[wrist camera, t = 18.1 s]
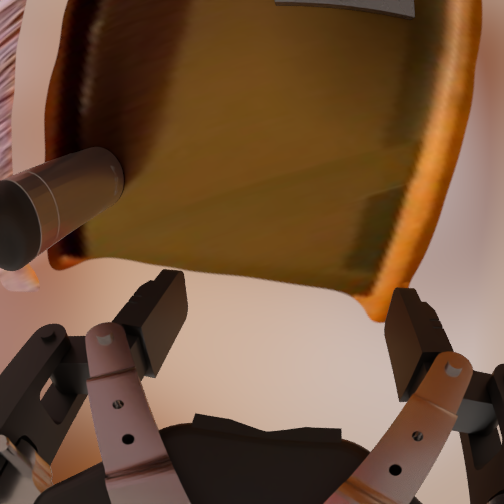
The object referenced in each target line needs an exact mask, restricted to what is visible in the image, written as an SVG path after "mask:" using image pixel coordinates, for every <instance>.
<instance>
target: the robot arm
mask: <svg viewBox="0 0 504 504" xmlns="http://www.w3.org/2000/svg"><path fill="white" fill-rule="evenodd" d="M123 185H124V176H123V171H122V168H121V165H120V163H119V161H118V160H117V158H116V157H115V156H114V155H113V154H112V153H111V152H110V151H108V150H107V149H104V148H102V147H91V148H88V149H84V150H81V151H78V152H75V153H72V154H69V155H66V156H63V157H60V158H57V159H54V160H51V161H49V162H46V163H43V164H41V165H38V166H35V167H33V168H30V169H28V170H25V171H23V172H20V173H18V174H15V175H13V176H11V177H8V178H6V179H3V180H1V181H0V268H2V269H4V270H8V271H16V270H19V269H21V268H22V267H24V266H25V265H27V264H28V263H29V262H31V261H32V260H33V259H35V258H36V257H37V256H39V255H40V254H41V253H43V252H44V251H45V250H47V249H48V248H49V247H51V246H52V245H54V244H55V243H56V242H58V241H59V240H61V239H62V238H63V237H65V236H66V235H68V234H69V233H71V232H72V231H74V230H75V229H76V228H78V227H79V226H81V225H82V224H84V223H85V222H87V221H88V220H90V219H91V218H93V217H95V216H96V215H98V214H99V213H101V212H102V211H104V210H106V209H107V208H109V207H110V206H112V205H113V204H114V203H116V202H117V201H118V199H119V197H120V196H121V193H122V191H123ZM187 312H188V302H187V294H186V287H185V279H184V273H183V272H182V271H177V270H167V269H163V270H162V271H161V272H160V274H159V275H158V276H157V278H156V279H155V280H154V281H152V280H150V281H149V282H147V283H145V284H143V285H142V286H140V287H139V288H138V290H137V291H136V292H135V293H134V296H132V297H131V298H130V299H129V302H127V303H126V305H125V306H124V307H123V308H122V309H121V311H120V312H119V313H118V315H117V316H116V317H115V318H114V320H113V321H112V322H108V323H101V324H98V325H96V326H94V327H93V328H91V329H90V330H89V331H88V332H87V334H86V336H68V335H67V333H66V330H65V328H64V327H63V326H61V325H59V324H48V325H45V326H43V327H41V328H39V329H38V330H37V331H36V332H35V333H34V334H33V335H32V336H31V338H30V339H29V340H28V341H27V342H26V344H25V345H24V346H23V347H22V348H21V350H20V351H19V352H18V353H17V354H16V356H15V357H14V358H13V359H12V361H11V362H10V363H9V364H8V366H7V367H6V368H5V370H4V371H3V372H2V373H1V375H0V504H422V503H421V502H420V501H419V500H418V499H417V498H416V497H415V494H416V493H417V491H418V490H419V488H420V486H421V485H422V483H423V482H424V480H425V478H426V476H427V475H428V473H429V472H430V470H431V468H432V466H433V464H434V463H435V461H436V459H437V457H438V456H439V454H440V452H441V450H442V448H443V446H444V444H445V442H446V440H447V438H448V436H449V434H450V432H451V430H453V431H458V432H459V433H460V438H461V443H462V449H463V454H464V460H465V466H466V472H467V479H468V487H469V495H470V504H504V364H500V365H498V366H497V367H496V368H495V370H494V371H493V373H492V374H487V373H482V372H477V371H474V370H473V367H472V365H471V363H470V362H469V360H468V359H467V358H466V357H464V356H463V355H461V354H459V353H456V352H454V351H453V349H452V346H451V344H450V342H449V340H448V337H447V335H446V333H445V331H444V329H443V328H442V324H441V322H440V321H439V318H438V316H437V314H436V312H435V310H434V309H433V308H432V307H431V306H430V305H429V304H428V303H427V302H421V300H420V298H419V296H418V294H417V292H416V290H415V289H414V288H395V290H394V292H393V295H392V299H391V303H390V307H389V310H388V314H387V318H386V321H385V329H384V332H385V339H386V343H387V347H388V352H389V356H390V360H391V365H392V369H393V374H394V378H395V383H396V387H397V393H398V398H399V402H407V403H406V405H405V406H404V408H403V409H402V411H401V412H400V414H399V415H398V416H397V418H396V419H395V421H394V422H393V424H392V425H391V426H390V428H389V429H388V430H387V432H386V433H385V434H384V436H383V437H382V438H381V440H380V441H379V442H378V444H377V445H376V446H375V447H374V449H373V450H372V451H371V452H369V451H368V450H367V449H365V448H364V447H362V446H360V445H358V444H356V443H353V442H350V441H348V440H344V439H342V438H341V429H335V428H311V427H304V428H296V429H289V430H281V431H271V432H266V431H262V430H259V429H256V428H253V427H250V426H247V425H245V424H242V423H239V422H236V421H233V420H231V419H225V418H219V417H213V416H207V415H202V414H195V416H194V419H193V422H192V423H184V424H177V425H173V426H169V427H166V428H163V429H161V430H158V427H157V425H156V422H155V420H154V417H153V414H152V412H151V409H150V407H149V404H148V402H147V398H146V396H145V392H144V390H143V387H142V384H141V381H142V379H143V377H144V376H148V377H152V378H156V376H157V374H158V372H159V370H160V368H161V366H162V364H163V362H164V360H165V358H166V356H167V354H168V352H169V350H170V348H171V346H172V345H173V343H174V341H175V339H176V337H177V335H178V333H179V331H180V329H181V327H182V325H183V324H184V322H185V320H186V317H187ZM49 377H50V379H51V380H52V382H53V383H52V384H51V386H50V387H49V389H48V390H47V392H46V393H45V395H44V396H43V398H42V400H41V401H40V392H41V390H42V388H43V386H44V385H45V383H46V382H47V380H48V379H49ZM87 395H89V401H90V407H91V412H92V417H93V422H94V427H95V432H96V436H97V441H98V445H99V449H100V453H101V457H102V462H100V463H98V464H96V465H94V466H92V467H90V468H88V469H87V470H84V471H82V472H80V473H78V474H76V475H74V476H72V477H70V478H68V479H66V480H64V481H62V482H59V483H57V484H55V485H53V483H52V482H51V480H52V471H51V468H50V465H51V463H52V461H53V459H54V457H55V455H56V453H57V451H58V449H59V447H60V445H61V443H62V441H63V439H64V437H65V436H66V434H67V432H68V430H69V428H70V426H71V424H72V422H73V420H74V419H75V417H76V415H77V413H78V411H79V409H80V407H81V406H82V404H83V402H84V400H85V399H86V397H87ZM498 424H499V427H500V431H501V434H502V445H501V441H500V437H499V434H498V430H497V426H498Z"/></svg>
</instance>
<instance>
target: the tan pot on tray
mask: <svg viewBox="0 0 504 504" xmlns="http://www.w3.org/2000/svg"><path fill="white" fill-rule="evenodd" d="M275 4H276V6H312V7H327V8H339V9H348V10H356V11H364V12H371V13H377V14H383V15H389V16H394V17H399V18H404V19H409V20H412V19H413V18H415V10H414V0H275Z"/></svg>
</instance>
